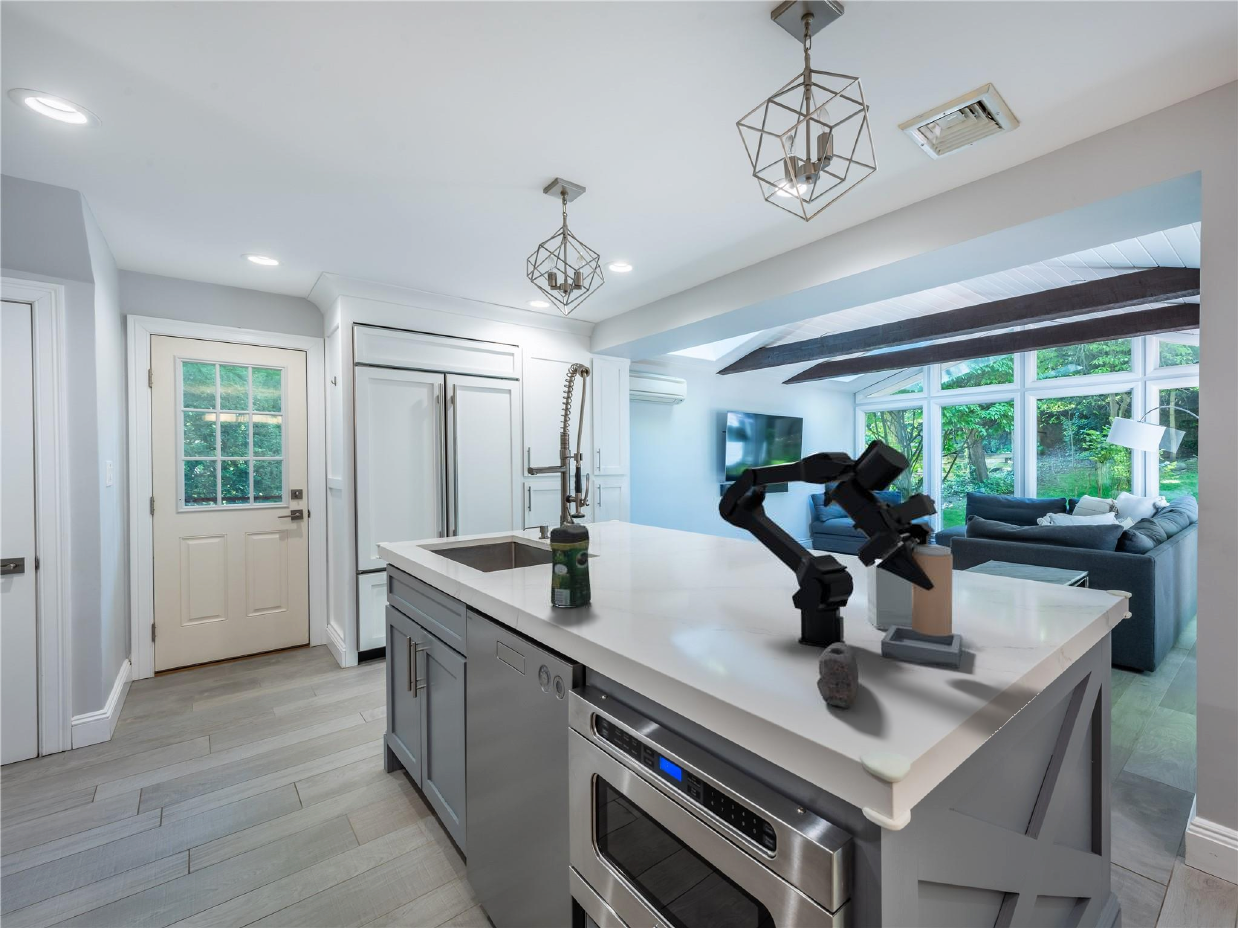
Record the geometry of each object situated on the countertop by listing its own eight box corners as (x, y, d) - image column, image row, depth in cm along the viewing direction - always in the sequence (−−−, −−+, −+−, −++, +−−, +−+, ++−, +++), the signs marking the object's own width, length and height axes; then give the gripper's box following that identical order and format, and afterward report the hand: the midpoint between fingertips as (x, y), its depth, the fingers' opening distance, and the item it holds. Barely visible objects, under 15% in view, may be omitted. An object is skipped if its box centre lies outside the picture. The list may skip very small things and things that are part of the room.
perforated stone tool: (825, 672, 87) (824, 628, 87) (862, 678, 85) (861, 632, 85) (813, 711, 73) (812, 658, 73) (857, 719, 71) (856, 664, 71)
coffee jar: (569, 597, 138) (568, 522, 138) (596, 601, 134) (595, 524, 134) (544, 606, 130) (543, 526, 130) (571, 610, 126) (570, 528, 126)
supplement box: (917, 631, 107) (916, 565, 107) (875, 629, 109) (874, 564, 109) (905, 620, 114) (904, 559, 114) (866, 619, 116) (866, 558, 116)
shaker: (912, 632, 86) (912, 548, 85) (910, 623, 91) (911, 543, 90) (953, 637, 83) (954, 550, 83) (950, 627, 88) (950, 545, 88)
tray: (881, 655, 94) (881, 641, 94) (891, 638, 103) (891, 625, 103) (957, 668, 88) (957, 652, 88) (961, 649, 97) (961, 634, 97)
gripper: (879, 478, 83) (962, 561, 76) (921, 475, 96) (996, 546, 89) (827, 526, 89) (900, 608, 81) (874, 517, 102) (941, 587, 94)
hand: (937, 585), depth 86 cm, fingers closed on shaker, 5 cm apart
